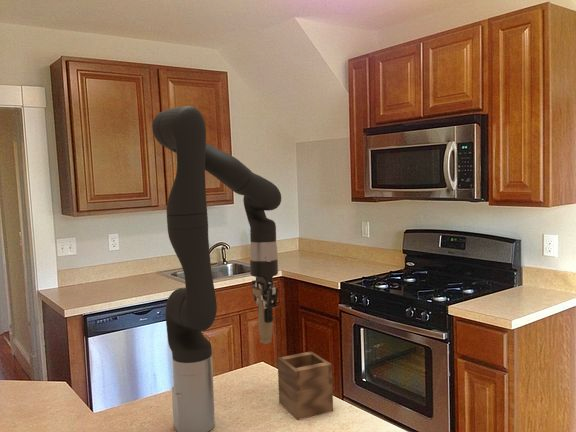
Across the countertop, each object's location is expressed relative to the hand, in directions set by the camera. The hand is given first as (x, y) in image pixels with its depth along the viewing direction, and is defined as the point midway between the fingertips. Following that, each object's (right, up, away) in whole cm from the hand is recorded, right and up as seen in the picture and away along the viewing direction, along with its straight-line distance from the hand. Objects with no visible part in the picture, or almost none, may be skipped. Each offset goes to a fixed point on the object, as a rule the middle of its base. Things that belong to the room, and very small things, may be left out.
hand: (265, 319), depth 138 cm
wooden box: (+11, -21, -8) cm, 25 cm away
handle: (0, -6, 0) cm, 7 cm away
